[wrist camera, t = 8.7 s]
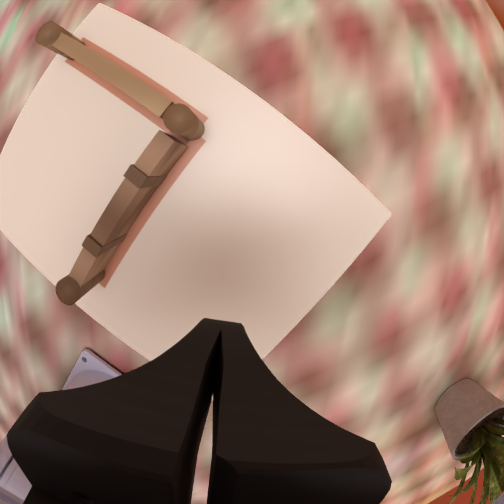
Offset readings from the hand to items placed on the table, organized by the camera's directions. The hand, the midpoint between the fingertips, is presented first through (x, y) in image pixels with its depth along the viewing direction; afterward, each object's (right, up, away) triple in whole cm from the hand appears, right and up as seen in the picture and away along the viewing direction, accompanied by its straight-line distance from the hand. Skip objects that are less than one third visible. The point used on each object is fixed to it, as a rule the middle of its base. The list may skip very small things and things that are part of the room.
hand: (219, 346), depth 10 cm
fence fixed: (-7, +14, +6) cm, 17 cm away
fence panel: (-7, +5, +8) cm, 12 cm away
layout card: (-6, +6, +9) cm, 12 cm away
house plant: (+21, -12, +14) cm, 28 cm away
